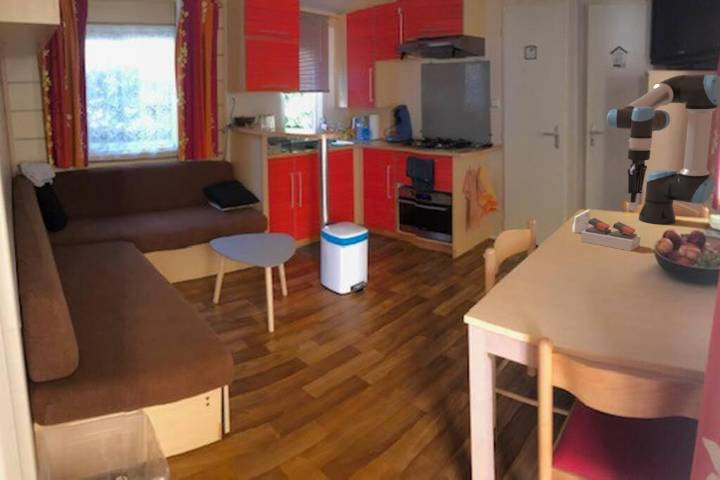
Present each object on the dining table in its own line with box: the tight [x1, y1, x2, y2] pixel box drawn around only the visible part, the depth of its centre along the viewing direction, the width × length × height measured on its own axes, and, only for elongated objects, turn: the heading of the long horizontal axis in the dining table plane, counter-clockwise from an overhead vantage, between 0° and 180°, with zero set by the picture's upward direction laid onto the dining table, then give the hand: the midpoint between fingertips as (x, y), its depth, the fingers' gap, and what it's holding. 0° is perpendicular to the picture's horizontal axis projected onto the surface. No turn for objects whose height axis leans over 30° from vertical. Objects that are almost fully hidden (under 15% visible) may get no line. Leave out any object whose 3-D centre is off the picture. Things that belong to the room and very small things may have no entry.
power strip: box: [580, 226, 641, 252], centre depth 242 cm, size 9×20×5 cm, turn 45°
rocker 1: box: [588, 217, 611, 231], centre depth 244 cm, size 5×7×2 cm
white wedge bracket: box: [571, 209, 591, 234], centre depth 260 cm, size 4×10×9 cm, turn 84°
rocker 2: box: [612, 221, 636, 235], centre depth 237 cm, size 5×7×2 cm
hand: (633, 210), depth 233 cm, fingers closed
